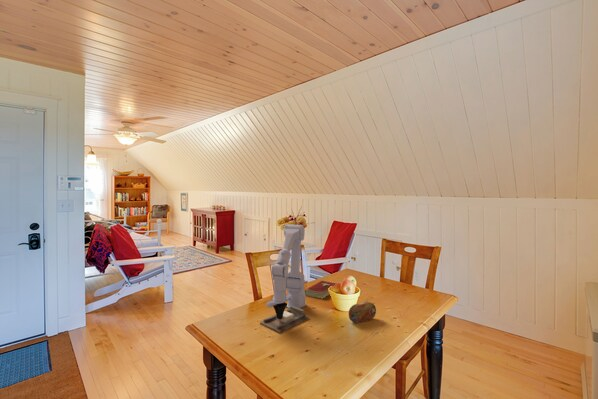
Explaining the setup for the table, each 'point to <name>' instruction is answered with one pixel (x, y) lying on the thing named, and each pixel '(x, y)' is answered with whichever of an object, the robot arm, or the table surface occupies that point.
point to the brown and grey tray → (281, 326)
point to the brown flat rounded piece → (362, 312)
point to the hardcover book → (319, 289)
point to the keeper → (286, 316)
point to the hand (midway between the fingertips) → (279, 318)
